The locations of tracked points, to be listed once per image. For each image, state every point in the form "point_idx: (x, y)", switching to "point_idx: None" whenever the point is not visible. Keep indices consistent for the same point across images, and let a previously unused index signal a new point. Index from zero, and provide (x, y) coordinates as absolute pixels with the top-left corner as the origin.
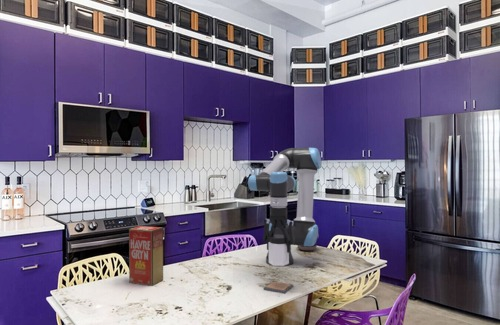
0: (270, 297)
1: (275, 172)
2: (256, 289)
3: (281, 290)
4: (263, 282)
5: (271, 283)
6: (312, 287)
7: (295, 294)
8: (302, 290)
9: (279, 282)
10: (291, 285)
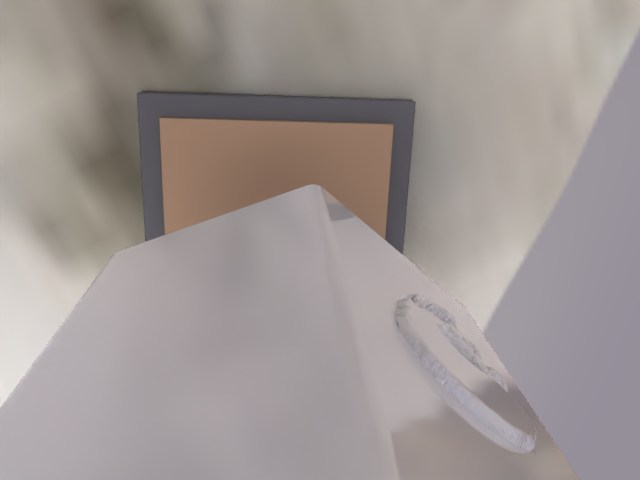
0: None
1: None
2: None
3: None
4: (29, 126)
5: (171, 206)
6: (627, 26)
7: (493, 308)
8: (535, 174)
9: (242, 128)
10: (403, 140)
